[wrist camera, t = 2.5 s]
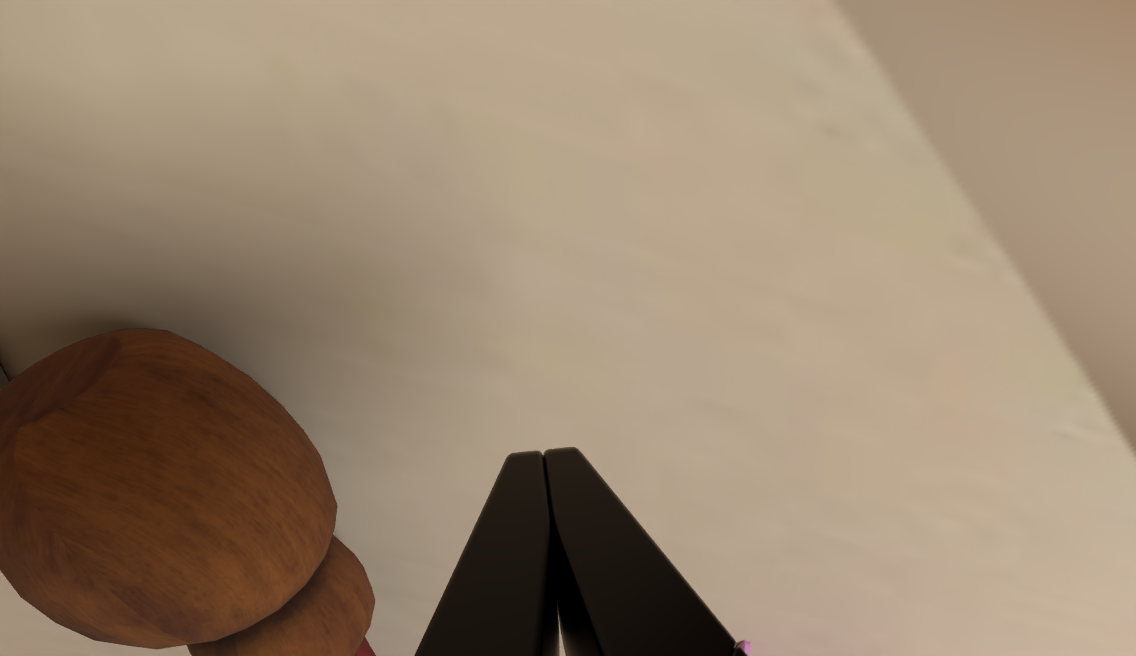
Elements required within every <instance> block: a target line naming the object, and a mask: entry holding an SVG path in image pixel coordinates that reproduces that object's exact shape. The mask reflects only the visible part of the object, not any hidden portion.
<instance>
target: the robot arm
mask: <svg viewBox="0 0 1136 656" xmlns="http://www.w3.org/2000/svg"><path fill="white" fill-rule="evenodd" d="M557 606H558V607H557ZM558 615H559V622H560V629H561V635H562V640H563V645H564V650H565V654H566V656H748V655H747V654H746V653H745V651H744V650H743V649H742V648H741V647H739V646H738V647H736V641H735V640H734V638H733V637H732V636H731V635H730V633H729V632H728V631H727V630H726V629H725V627H724V626H723V625H722V624H721V622H720V621H719V620H718V619H717V618H716V616H715V615H714V614H713V613H712V611H711V610H710V609H709V608H708V607H707V605H706V604H705V603H704V602H703V600H702V599H701V598H700V597H699V596H698V594H697V593H696V592H695V591H694V589H693V588H692V587H691V586H690V585H689V583H688V582H687V581H686V580H685V579H684V577H683V576H682V575H681V574H680V572H679V571H678V570H677V569H676V568H675V566H674V565H673V564H672V563H671V561H670V560H669V559H668V558H667V557H666V555H665V554H664V553H663V552H662V550H661V549H660V548H659V547H658V546H657V544H656V543H655V542H654V541H653V539H652V538H651V537H650V536H649V535H648V533H647V532H646V531H645V530H644V528H643V527H642V526H641V525H640V524H639V522H638V521H637V520H636V519H635V517H634V516H633V515H632V514H631V513H630V511H629V510H628V509H627V508H626V506H625V505H624V504H623V503H622V502H621V500H620V499H619V498H618V497H617V495H616V494H615V493H614V492H613V491H612V489H611V488H610V487H609V486H608V484H607V483H606V482H605V481H604V480H603V478H602V477H601V476H600V475H599V473H598V472H597V471H596V470H595V469H594V467H593V466H592V465H591V464H590V462H589V461H588V460H587V459H586V458H585V456H584V455H583V454H582V453H581V452H580V451H579V450H578V449H577V448H575V447H566V448H556V449H548V450H546V451H545V452H544V455H542V453H541V452H540V451H527V452H518V453H511V454H510V455H508V457H507V458H506V460H505V462H504V464H503V466H502V469H501V471H500V473H499V475H498V477H497V479H496V482H495V484H494V486H493V488H492V490H491V492H490V494H489V497H488V499H487V501H486V503H485V505H484V507H483V509H482V512H481V514H480V516H479V518H478V520H477V522H476V525H475V527H474V529H473V531H472V533H471V535H470V537H469V540H468V542H467V544H466V546H465V548H464V550H463V552H462V555H461V557H460V559H459V561H458V563H457V565H456V568H455V570H454V572H453V574H452V576H451V578H450V580H449V583H448V585H447V587H446V589H445V591H444V593H443V595H442V598H441V600H440V602H439V604H438V606H437V608H436V611H435V613H434V615H433V617H432V619H431V621H430V623H429V626H428V628H427V630H426V632H425V634H424V636H423V638H422V641H421V643H420V645H419V647H418V649H417V651H416V654H415V656H559V622H558Z"/></svg>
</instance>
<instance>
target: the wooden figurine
mask: <svg viewBox="0 0 1136 656" xmlns="http://www.w3.org/2000/svg"><path fill="white" fill-rule="evenodd" d="M336 513H337V503H336V500H335V497H334V494H333V491H332V488H331V485H330V482H329V479H328V476H327V473H326V470H325V467H324V464H323V461H322V458H321V456H320V454H319V453H318V451H317V450H316V448H315V447H314V445H313V444H312V442H311V441H310V439H309V438H308V436H307V435H306V433H305V432H304V430H303V429H302V428H301V427H300V426H299V424H298V423H297V422H296V421H295V420H294V419H293V418H292V416H291V415H290V414H289V413H288V412H287V411H286V410H285V408H284V407H283V406H282V405H281V404H280V403H279V402H278V401H277V400H276V399H274V398H273V397H272V396H271V395H270V394H269V393H268V392H266V391H265V390H264V389H263V388H262V387H261V386H260V385H259V384H257V383H256V382H255V381H254V380H253V379H252V378H251V377H249V376H248V375H246V374H245V373H243V372H242V371H240V370H239V369H237V368H236V367H234V366H232V365H231V364H229V363H228V362H226V361H225V360H223V359H222V358H220V357H219V356H217V355H215V354H214V353H212V352H210V351H209V350H207V349H205V348H203V347H202V346H200V345H198V344H196V343H194V342H191V341H189V340H187V339H185V338H183V337H180V336H178V335H176V334H174V333H172V332H169V331H167V330H155V329H124V330H119V331H115V332H111V333H106V334H102V335H98V336H95V337H91V338H88V339H84V340H82V341H79V342H77V343H75V344H72V345H70V346H68V347H65V348H63V349H61V350H59V351H57V352H55V353H53V354H52V355H50V356H48V357H46V358H44V359H43V360H41V361H39V362H37V363H35V364H34V365H33V366H31V367H30V368H28V369H27V370H25V371H24V372H23V373H21V374H20V375H18V376H17V377H15V378H14V379H13V380H12V381H10V382H9V383H8V384H7V385H6V386H5V387H4V388H3V389H1V390H0V570H1V572H2V573H3V574H4V576H5V577H6V578H7V580H8V581H9V582H10V584H11V585H12V586H13V588H14V589H15V590H16V591H17V593H18V594H19V595H20V597H21V598H23V599H24V600H25V601H27V602H28V603H29V604H31V605H32V606H34V607H35V608H36V609H38V610H39V611H40V612H42V613H43V614H45V615H46V616H47V617H49V618H50V619H51V620H53V621H54V622H55V623H57V624H60V625H62V626H64V627H66V628H68V629H71V630H73V631H75V632H77V633H79V634H82V635H84V636H86V637H88V638H90V639H92V640H95V641H102V642H108V643H115V644H121V645H128V646H135V647H143V648H151V649H162V648H169V647H175V646H182V645H187V647H188V649H189V651H190V654H191V655H192V656H376V655H375V653H374V652H373V650H372V648H371V647H370V645H369V643H368V641H367V640H366V638H365V635H366V633H367V631H368V629H369V627H370V624H371V619H372V614H373V610H374V605H375V598H374V594H373V591H372V587H371V585H370V582H369V580H368V577H367V574H366V572H365V569H364V567H363V565H362V564H361V563H360V561H359V560H358V558H357V557H356V556H355V554H354V553H353V552H352V551H351V550H349V549H348V548H347V547H346V546H345V545H344V544H343V543H342V542H341V541H339V540H338V539H337V538H336V537H335V536H334V535H333V532H334V528H335V521H336Z"/></svg>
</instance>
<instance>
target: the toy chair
mask: <svg viewBox="0 0 1136 656" xmlns="http://www.w3.org/2000/svg"><path fill="white" fill-rule="evenodd" d="M738 646H739V647H741V648H742V649H743V650H744V651H745V653H746V654H747V655H748V656H750V648H751V643H750V642H747V641H742V642H741V643H740V644H739V645H738ZM738 646H737V647H738Z"/></svg>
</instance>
